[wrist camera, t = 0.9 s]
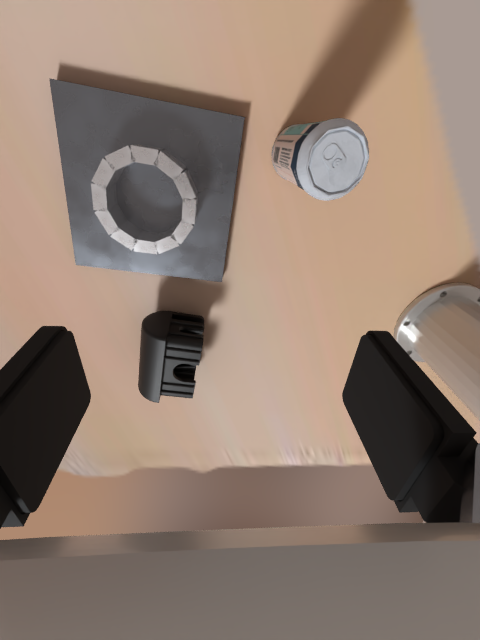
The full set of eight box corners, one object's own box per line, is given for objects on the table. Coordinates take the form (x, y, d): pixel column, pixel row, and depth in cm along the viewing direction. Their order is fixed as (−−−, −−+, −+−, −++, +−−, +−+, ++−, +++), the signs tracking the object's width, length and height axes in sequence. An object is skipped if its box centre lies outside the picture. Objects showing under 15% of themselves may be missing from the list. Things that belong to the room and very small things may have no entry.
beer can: (292, 191, 30) (329, 218, 20) (260, 154, 28) (284, 164, 18) (329, 152, 29) (390, 161, 19) (298, 111, 27) (347, 96, 17)
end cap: (148, 304, 36) (136, 335, 31) (205, 313, 38) (203, 344, 32) (144, 364, 42) (133, 401, 36) (194, 370, 43) (191, 407, 37)
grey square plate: (243, 117, 27) (247, 115, 23) (221, 277, 35) (222, 293, 32) (56, 80, 25) (29, 71, 21) (80, 260, 33) (63, 276, 29)
